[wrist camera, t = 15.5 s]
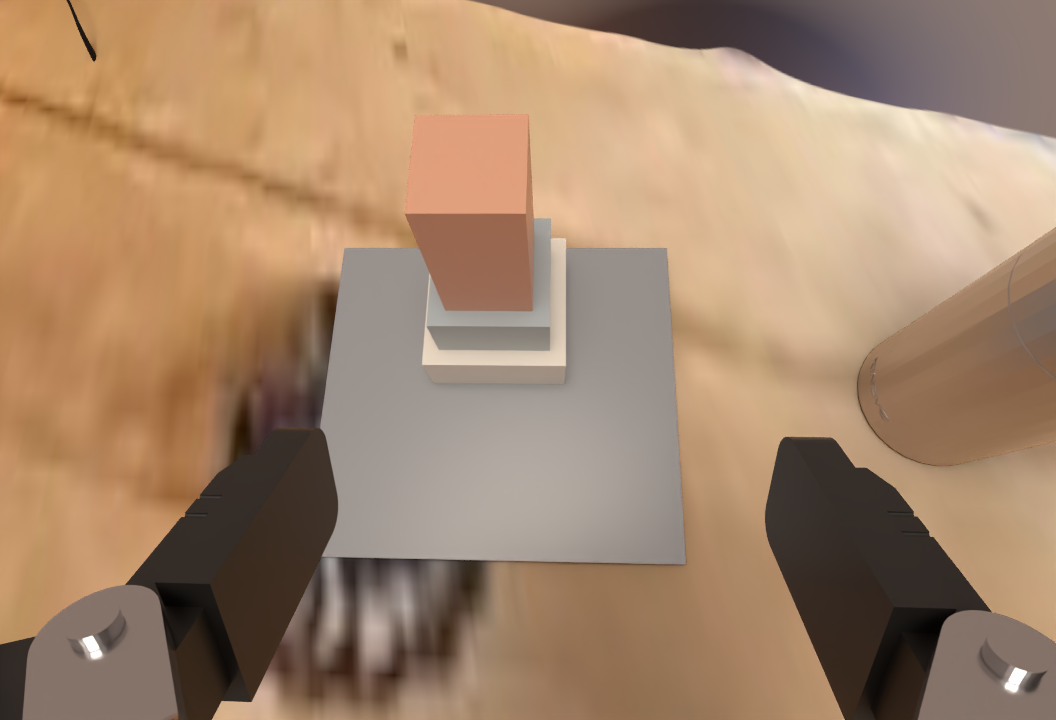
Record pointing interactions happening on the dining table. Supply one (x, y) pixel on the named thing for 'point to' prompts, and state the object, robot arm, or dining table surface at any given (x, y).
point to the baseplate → (506, 425)
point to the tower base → (511, 360)
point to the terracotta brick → (474, 209)
